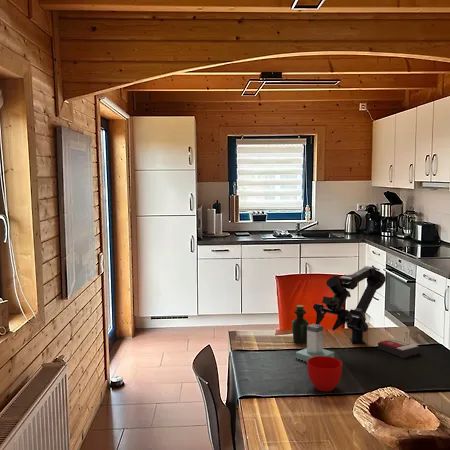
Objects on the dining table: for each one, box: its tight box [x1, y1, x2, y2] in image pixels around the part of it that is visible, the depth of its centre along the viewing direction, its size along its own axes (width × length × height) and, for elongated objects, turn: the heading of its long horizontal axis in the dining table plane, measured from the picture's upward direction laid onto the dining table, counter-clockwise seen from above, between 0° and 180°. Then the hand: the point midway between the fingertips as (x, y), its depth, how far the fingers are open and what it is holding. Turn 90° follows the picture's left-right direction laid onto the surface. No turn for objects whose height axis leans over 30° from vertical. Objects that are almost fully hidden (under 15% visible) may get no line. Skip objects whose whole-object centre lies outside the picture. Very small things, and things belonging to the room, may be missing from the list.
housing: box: [306, 323, 324, 355], centre depth 209 cm, size 5×5×12 cm
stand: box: [295, 347, 335, 363], centre depth 209 cm, size 12×12×3 cm
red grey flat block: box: [377, 338, 421, 359], centre depth 218 cm, size 11×4×15 cm
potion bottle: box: [291, 304, 309, 345], centre depth 232 cm, size 8×8×18 cm
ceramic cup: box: [306, 356, 343, 392], centre depth 181 cm, size 13×17×10 cm
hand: (324, 327), depth 213 cm, fingers open, 9 cm apart
